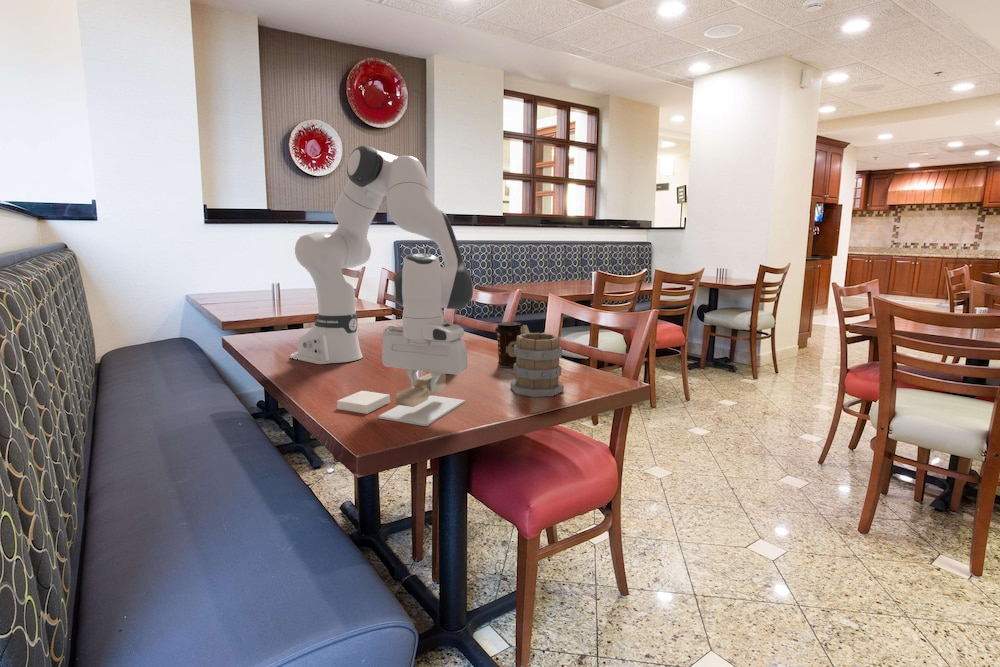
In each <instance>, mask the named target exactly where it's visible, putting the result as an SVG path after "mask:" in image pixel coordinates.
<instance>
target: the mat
mask: <svg viewBox="0 0 1000 667" xmlns="http://www.w3.org/2000/svg"><path fill="white" fill-rule="evenodd" d="M464 403H466V399H460V398H459V399H458V398H453V397H445V396H439V395H438V396H437V395H431V396H429V397H428V400H426V401H424V402H423V403H421V404H419V405H417V406H415V407H409V406H403V405H396V406H395V407H393V408H391V409H389V410H387V411H385V412H383V413H380V414H379V415H377V419H381V420H387V421H392V422H399V423H405V424H411V425H416V426H422V427H423V426H424V427H428V426H430V425H431V424H433V423H434V422H436V421H437V420H439V419H440V418H442V417H444V416H445V415H447V414H449V413H450V412H452V411H453V410H455V409H456V408H457V409H458V407H460V406H461V405H463V404H464Z"/></svg>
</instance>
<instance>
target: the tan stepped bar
mask: <svg viewBox="0 0 1000 667" xmlns="http://www.w3.org/2000/svg"><path fill="white" fill-rule="evenodd" d="M446 377H447V374H446V373H441V375H440V377H439V379H438V381H437V382H436V390H435V391H428V389H427V383H428V382H430V381H431V380H432V378H433V376H431V372H429V373H427V374H425V375H422V376H420V377H417V378H418V379H416V380H415V387H412V386H409V387H407V388H404V389H403V390H401V391H398V392H396V393H395V405H396V406H398V405H403V406H409V407H415V406H417V405H419V404H421V403H423V402H424V401H426V400H428V397H429V396H431V395H432V396H434V395H435V394H436V393H439V392H440V391H443V390H445V389H446V387H447V383H446V382H447V381H446V379H447V378H446Z"/></svg>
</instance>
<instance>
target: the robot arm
mask: <svg viewBox="0 0 1000 667" xmlns="http://www.w3.org/2000/svg"><path fill="white" fill-rule="evenodd" d="M346 173H347V174H346V175H347V176H348V180H346V182H345V185H344V186H343V189H342V190H341V192H340V195H339V196H338V198H337V201H336V203H335V205H334V207H333V216H334V218H335V220H336V223H338V224H337V228H336V229H335V230H334V231H332V232H330V231H329V232H326V231H325V232H324V231H323V232H322V231H321V232H320V231H317V232H315V231H314V232H312V233H308V234H307V233H306V234H304V235H302V236H299V238H298V239H297V241H296V243H295V246H294V254H295V257H296V261H297V262H298V263H299V265H300V266H302V267H303V268H304V269H305V270H306V271H307V272H308V273H309V275H310V277H311V278H312V281H313V283H314V285H315V290H316V295H317V309H318V313H317V315H314V316H312V319H311V321H314V325H313V326H312V327H311V328H309V330H308V331H307V332H305V333H303V335H301V336H300V337H299V339H298V343H297V351H295V352H292V353H291V354H290V355H289V356H290V357H289V358H290V359H292V358H293V359H294V360H297V359H298V360H297V361H301V362H306V363H311V364H316V365H326V364H337V363H338V364H341V363H348V362H353V361H357V360H361V359H362V358H363V357H364V356H363V354H362V350H361V348H360V342H359V337H358V330H357V329H358V314H357V311H356V290H355V288H354V286H353V285H352V284H350V283H349V282H348V281H347V280H346V279H345V277H344V273H343V270H342V269H348V268H349V269H351V268H356V267H358V266H359V267H360V266H362V265H364V264H366V263H368V261H369V260H370V258H371V252H372V249H371V244H370V242H369V240H368V233H369V230H370V229H369V228H370V225H372V222H373V220H374V218H375V216H376V214H377V212H378V210H379V208H380V206H381V204H382V202H383V201H384V200H383V199H384V198H385V200H386V201H385V202H386V208H387V212H388V214H389V218H390V220H391V221H392V222H393V223H394V224H395V225H396V226H397V227H399V228H400V229H402V230H404V231H405V232H408V233H411V234H415V235H419V236H422V237H424V238H427V239H429V240H431V241H433V242H434V243H435V244H436V245H437V247H438V248H439V252H440V255H441V257H442V261H443V265H444V266H441V262H440V259H439V257H438V256H436V255H435V254H430V253H424V252H423V253H421V252H420V253H419V252H418V253H412V254H408V255H406V256H405V257H404V259H403V267H402V268H401V269H399V270H398V271H397V272H396V273H395V275H393V276H392V280H393V288H394V289H393V301H394V302H395V303H396V304H398V305H399V306H400V307H402V308H403V309H402V310H403V311H402V326H395V325H389V326H387V327H386V328H385V329H384V330H383V332H382V339H383V341H382V342H383V343H382V348H381V349H382V351H381V362H382V364H383V366H384V367H386V368H387V367H390V368H397V369H406V374H407V376H408V378H409V380H410V382H411V387H415V380H416V379H418V378H419V377H418V375H417V372H418V371H420V372H421V371H423V372H429V373H431V376H433V378H432V380H431V381H430V382H428V383H427V389H428V391H435V390H436V382H437V381H438V379H439V377H440V375H441V373H446V375H447V374H448V375H455V376H459V375H460V374H463V373H464V372H465V371H466V370H467V369H468V352H467V346H466V342H465V341H464V340H463V339H462V337H464V335H465V331H464V328H463V327H462V326H460V325H457V324H455V323H453V322H450V321H448V320H445V319H444V313H443V309H448V310H462V309H463V308H464V307H465V306H467V304H469V303H470V302H471V300H472V299H473V295H474V283H473V280H472V277H471V274H470V271H469V270H468V267H467V266H466V263H465V261H464V259H463V255H462V253H461V250H460V247H459V245H458V241H457V238H456V235H455V232H454V229H453V227H452V224H451V222H450V219H449V217H448V215H447V214H446V212H444V211H443V210H441V209H439V208H438V206H436V204H435V203H434V201H433V199H432V196H431V189H430V184H429V179H428V176H427V175H428V174H427V172H426V171H425V168H424V165H423V164H422V162H421V161H420V160H419V159H417V158H416V157H414V156H411V155H399V156H398V155H396V154H391V153H389V152H385V151H382V150H379V149H376V148H375V147H371V146H367V145H359V146H357V147H356V148H355V149H354V150H352V152H351V153H350V155H349V158H348V161H347V165H346ZM293 359H292V360H293Z"/></svg>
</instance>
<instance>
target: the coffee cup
mask: <svg viewBox="0 0 1000 667" xmlns="http://www.w3.org/2000/svg"><path fill="white" fill-rule="evenodd" d="M522 326H523V323H521V322H517V321H503V322H498V323H497V326H496V328H494V330H495V333H496V335H497V336H496V338H497V340H496V341H497V355H498V360H497V361H498V362H497V365H498V366H499V367H501V368H514V364H515V363H516V355H515V354H514V345H516V344H517V336H518V335H521V327H522Z"/></svg>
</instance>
